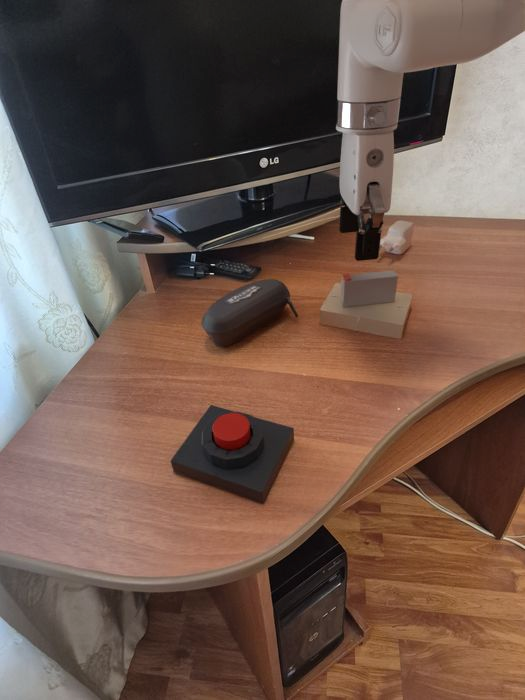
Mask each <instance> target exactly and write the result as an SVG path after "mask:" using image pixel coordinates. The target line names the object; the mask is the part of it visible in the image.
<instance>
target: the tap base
mask: <svg viewBox="0 0 525 700" xmlns="http://www.w3.org/2000/svg"><path fill="white" fill-rule="evenodd" d="M340 293H341V282H335V283H334V285H333V286H332V288H331V290H330V292H329V293H328V295H327V296H326V298H325V299H324V302H323V303H322V305H321V306H320V308H319V315H318V316H319V319H318V320H319V321H318V324H319V325H323V326H329V327H331V328H332V327H333V328H339V329H344V330H349V331H354V332H359V333H365V334H370V335H375V336H380V337H381V336H382V337H385V338H386V337H387V338H391V339H395V340H396V339H397V340H402V338H403V334H404V331H405V328H406V325H407V322H408V318H409V315H410V312H411V309H412V304H413V298H414V297H413V296H414V293H408V292H401V291H396V295H395V302H389V303H379V304H370V305H360V306H351V307H343V306H342V304H341V302H340Z"/></svg>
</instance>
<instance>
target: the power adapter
mask: <svg viewBox="0 0 525 700" xmlns="http://www.w3.org/2000/svg"><path fill="white" fill-rule="evenodd" d="M413 234H414V223H413V222H411V221H408V220H402V219H401V220H400V219H399V220H396V221H395V222H394V223H393V224H391V225H390V226H389V227H388V230H387V234H386V235H384V236H383V237H382V238H380V247H379V250H380V249H381V248H385V251H386V252H387V253H390V254H394V255H402V254H404V253H405V252H406V251H407V250H408V249H410V246H411V245H412V238H413Z"/></svg>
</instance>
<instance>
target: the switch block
mask: <svg viewBox="0 0 525 700" xmlns="http://www.w3.org/2000/svg"><path fill="white" fill-rule="evenodd" d="M228 413H238V414H241V415H243V416H245V417H246V418H247V419H248V421H249V424H250V432H251V437H250V440H249V442H248V443H247V444H246V445H245V446H244V447H242V448H240V449H237V450H224V449H222V448H220V447H219V446H218V445H217V444H216V443H215V440H214V435H213V424H214V422H215V421H216V420H217V419H218V418H219V417H220V416H222V415H225V414H228ZM294 441H295V428H294V427H291V426H287V425H285V424H280V423H277V422H274V421H269V420H267V419H263V418H259V417H256V416H254V415H252V414H248V413H245V412H241V411H234V410H231V409H227V408H223V407H220V406H217V405H213V404H210V405H209V407H208V408H207V409H206V411H205V412H204V414H202V416H201V418H199V420H198V422H197V423H196V425H195V426H193V429H192V430H191V431H190V433H189V434H188V436H187V437H186V438H185V440H183V443H182V444H181V445H180V447H179V448H178V449H177V451H176V452H175V453H174V455H173V456H172V458H171V459H170V464H171V467H172V471H173V473H175V474H179V475H181V476H184V477H187V478H189V479H192V480H195V481H198V482H201V483H203V484H206V485H210V486H212V487H215V488H218V489H221V490H223V491H227V492H230V493H232V494H235V495H238V496H241V497H244V498H246V499H248V500H252V501H254V502H258V503H260V504H264V503H265V501H266V499H267V497H268V495H269V493H270V491H271V488H272V486H273V484H274V482H275V480H276V478H277V476H278V474H279V473H280V470H281V468H282V467H283V464H284V461H285V459H286V457H287V455H288V454H289V451H290V449H291V447H292V445H293V443H294Z"/></svg>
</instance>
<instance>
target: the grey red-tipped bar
mask: <svg viewBox="0 0 525 700" xmlns="http://www.w3.org/2000/svg"><path fill="white" fill-rule="evenodd" d="M398 280H399V275H398V274H397V273H396V271H395V270H394V269H391V270H382V271H371V272H363V273H353V274H349V273H343V274H342V275H341V277H340V283H341V293H340V302H341V304H342V306H343V307H351V306H360V305H370V304H379V303H389V302H395V295H396V292H397V288H398V287H397V285H398Z"/></svg>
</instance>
